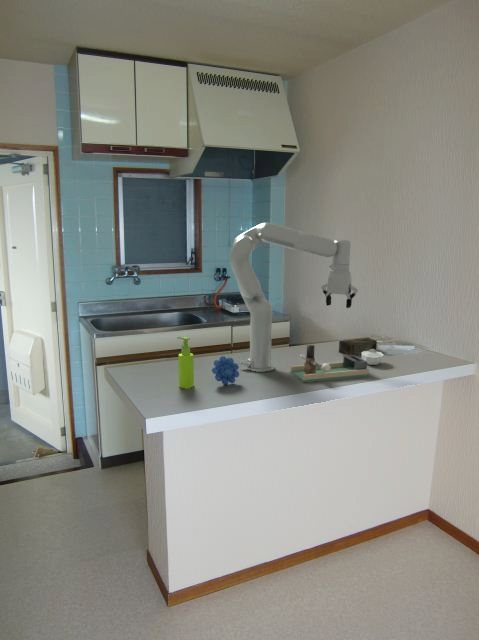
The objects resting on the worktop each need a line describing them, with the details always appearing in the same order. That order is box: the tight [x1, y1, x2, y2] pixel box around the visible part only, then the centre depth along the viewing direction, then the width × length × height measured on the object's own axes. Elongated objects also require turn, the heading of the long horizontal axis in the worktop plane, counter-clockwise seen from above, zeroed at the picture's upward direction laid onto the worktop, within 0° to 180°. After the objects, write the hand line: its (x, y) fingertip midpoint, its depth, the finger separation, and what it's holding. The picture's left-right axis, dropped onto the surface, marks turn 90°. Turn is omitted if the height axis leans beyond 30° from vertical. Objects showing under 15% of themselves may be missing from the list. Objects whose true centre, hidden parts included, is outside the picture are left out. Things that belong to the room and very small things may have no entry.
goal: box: [342, 354, 368, 370], centre depth 222 cm, size 6×11×6 cm, turn 17°
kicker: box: [299, 344, 321, 374], centre depth 215 cm, size 3×19×12 cm, turn 17°
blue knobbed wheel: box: [211, 355, 240, 386], centre depth 204 cm, size 12×7×12 cm, turn 112°
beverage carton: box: [338, 337, 378, 356], centre depth 258 cm, size 8×19×7 cm, turn 119°
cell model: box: [361, 349, 384, 366], centre depth 236 cm, size 10×12×7 cm
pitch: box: [289, 361, 369, 384], centre depth 219 cm, size 30×14×3 cm, turn 107°
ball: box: [321, 362, 331, 373], centre depth 218 cm, size 4×4×4 cm
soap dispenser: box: [176, 336, 195, 389], centre depth 203 cm, size 6×7×20 cm
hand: (338, 306), depth 227 cm, fingers open, 9 cm apart
